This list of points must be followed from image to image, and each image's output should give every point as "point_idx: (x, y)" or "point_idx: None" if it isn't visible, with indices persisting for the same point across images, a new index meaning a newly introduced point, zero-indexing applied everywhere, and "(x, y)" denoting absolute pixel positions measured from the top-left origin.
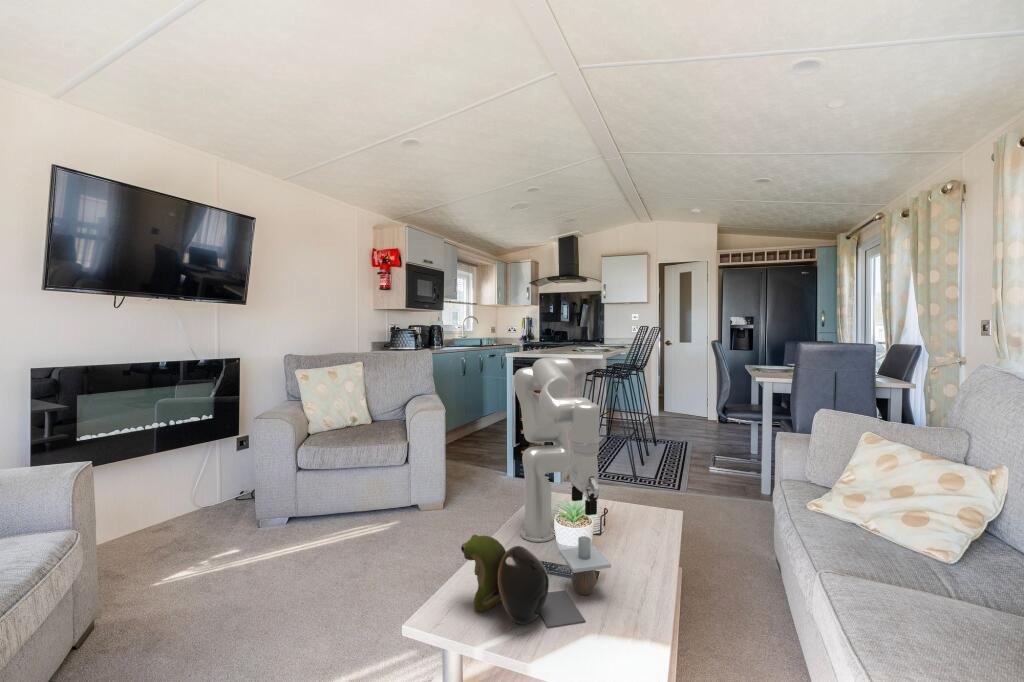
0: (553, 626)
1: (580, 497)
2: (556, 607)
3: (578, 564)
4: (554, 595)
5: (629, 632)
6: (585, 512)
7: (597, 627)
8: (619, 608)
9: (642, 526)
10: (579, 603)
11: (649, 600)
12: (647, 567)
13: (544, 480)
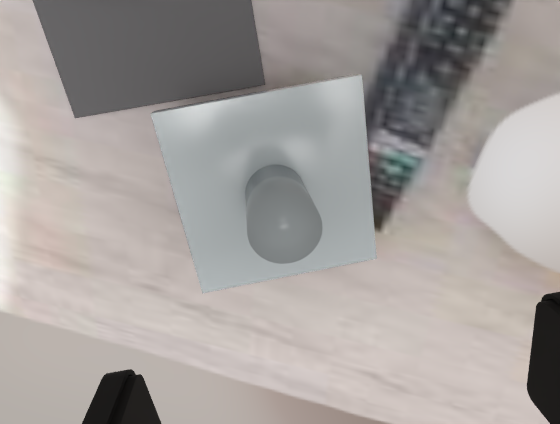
0: None
1: (553, 404)
2: (149, 23)
3: (197, 149)
4: (229, 30)
5: (42, 239)
6: (103, 390)
7: (54, 151)
8: (163, 241)
9: None
10: None
11: (206, 328)
12: (374, 365)
13: None
